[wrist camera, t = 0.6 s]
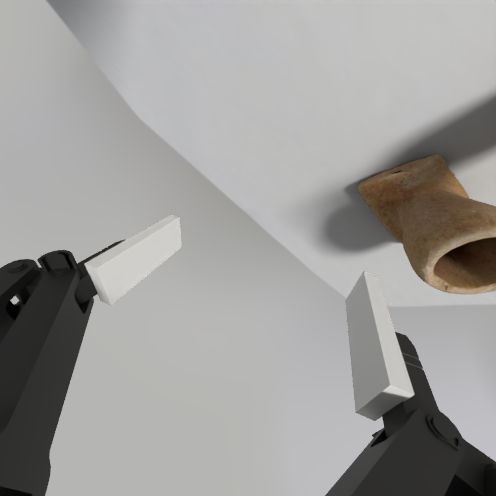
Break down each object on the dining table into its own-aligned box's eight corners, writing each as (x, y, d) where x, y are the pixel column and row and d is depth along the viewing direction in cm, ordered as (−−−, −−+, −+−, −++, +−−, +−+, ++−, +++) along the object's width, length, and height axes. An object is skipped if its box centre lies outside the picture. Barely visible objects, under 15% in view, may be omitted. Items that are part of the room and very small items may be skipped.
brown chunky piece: (500, 215, 27) (576, 303, 18) (401, 245, 36) (414, 317, 26) (454, 122, 24) (518, 168, 14) (355, 181, 32) (350, 235, 22)
